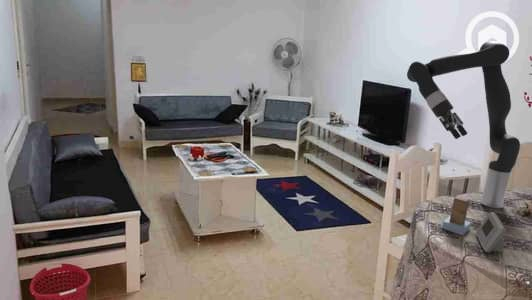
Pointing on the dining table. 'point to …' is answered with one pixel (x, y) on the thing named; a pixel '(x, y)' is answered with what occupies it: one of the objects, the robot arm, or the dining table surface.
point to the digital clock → (491, 233)
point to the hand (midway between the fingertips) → (462, 136)
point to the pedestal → (456, 226)
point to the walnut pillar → (459, 210)
